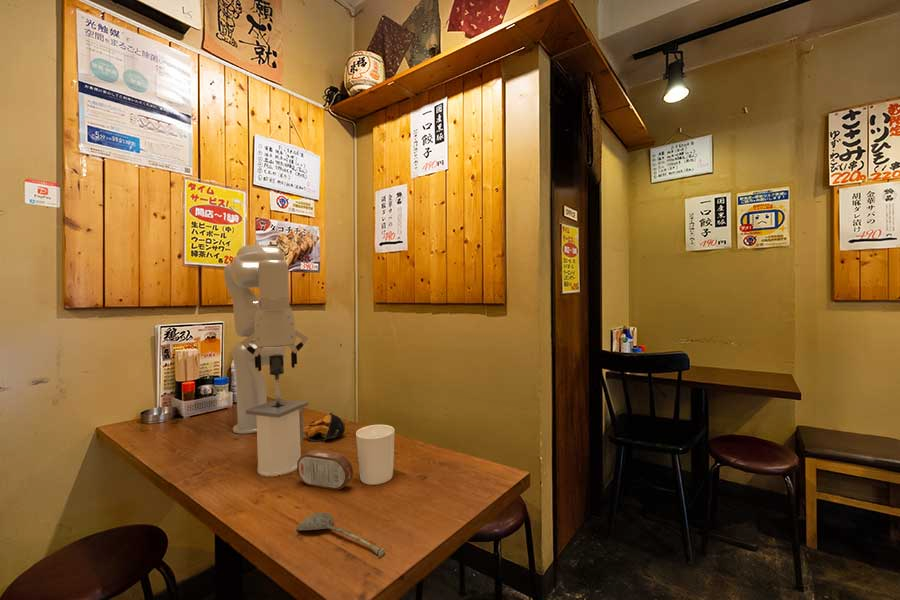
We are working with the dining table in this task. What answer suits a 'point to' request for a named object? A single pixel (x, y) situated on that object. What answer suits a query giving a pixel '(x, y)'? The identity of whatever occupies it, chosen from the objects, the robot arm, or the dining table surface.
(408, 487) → the dining table surface
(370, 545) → the soupspoon
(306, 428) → the fried shrimp in bowl
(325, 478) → the tin
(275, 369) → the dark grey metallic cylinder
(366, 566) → the dining table surface
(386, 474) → the white tapered cylinder
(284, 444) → the white grey-topped cylinder
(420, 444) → the dining table surface
